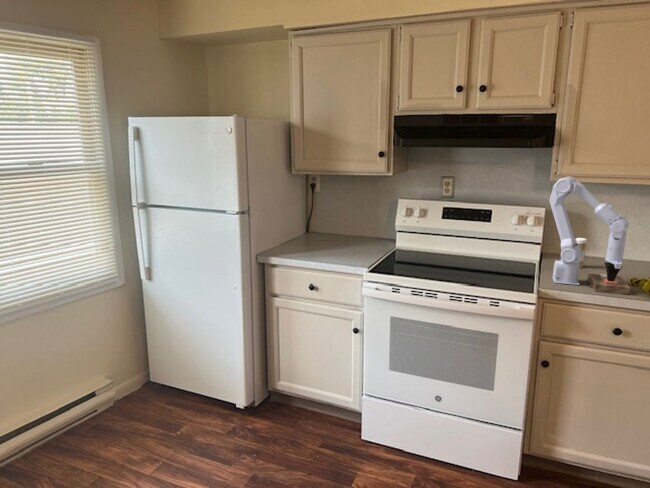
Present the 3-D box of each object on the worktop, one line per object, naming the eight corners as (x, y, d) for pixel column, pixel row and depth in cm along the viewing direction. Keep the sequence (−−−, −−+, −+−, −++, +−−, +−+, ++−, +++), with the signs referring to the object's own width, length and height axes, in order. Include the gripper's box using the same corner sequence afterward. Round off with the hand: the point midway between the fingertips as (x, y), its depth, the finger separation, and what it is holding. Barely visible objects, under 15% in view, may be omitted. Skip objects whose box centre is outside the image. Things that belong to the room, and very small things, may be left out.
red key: (605, 287, 193) (606, 281, 193) (602, 284, 197) (603, 278, 196) (616, 288, 192) (617, 282, 192) (614, 285, 196) (614, 279, 195)
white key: (601, 282, 200) (601, 276, 200) (598, 279, 204) (599, 273, 203) (611, 283, 199) (612, 277, 199) (609, 280, 203) (610, 274, 202)
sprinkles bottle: (573, 264, 229) (577, 237, 226) (584, 266, 226) (588, 238, 223) (570, 266, 226) (574, 238, 223) (581, 268, 223) (585, 240, 220)
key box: (594, 291, 193) (596, 284, 192) (587, 280, 206) (588, 273, 206) (629, 295, 189) (630, 287, 188) (619, 283, 203) (620, 276, 202)
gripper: (632, 253, 183) (626, 287, 186) (622, 244, 196) (617, 276, 200) (611, 252, 185) (606, 285, 188) (602, 243, 198) (598, 274, 202)
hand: (610, 280), depth 194 cm, fingers closed, pressing on red key
